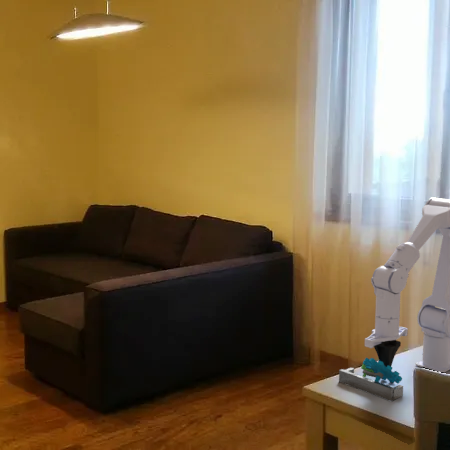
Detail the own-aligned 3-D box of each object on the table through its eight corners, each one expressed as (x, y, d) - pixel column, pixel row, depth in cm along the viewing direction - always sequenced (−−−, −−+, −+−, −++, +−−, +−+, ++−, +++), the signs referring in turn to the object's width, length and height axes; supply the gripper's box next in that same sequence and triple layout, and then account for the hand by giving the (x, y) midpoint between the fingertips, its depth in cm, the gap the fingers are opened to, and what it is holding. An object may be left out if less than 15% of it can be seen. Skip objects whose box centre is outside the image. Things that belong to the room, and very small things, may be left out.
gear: (410, 382, 164) (388, 358, 160) (400, 403, 162) (377, 380, 158) (376, 374, 173) (354, 351, 169) (366, 394, 171) (343, 372, 167)
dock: (350, 377, 172) (351, 365, 171) (402, 396, 160) (403, 384, 159) (338, 381, 169) (339, 370, 168) (391, 401, 157) (391, 388, 157)
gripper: (391, 306, 173) (389, 358, 175) (355, 317, 164) (353, 371, 166) (415, 312, 168) (413, 365, 170) (379, 324, 158) (377, 380, 161)
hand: (385, 369), depth 168 cm, fingers closed
